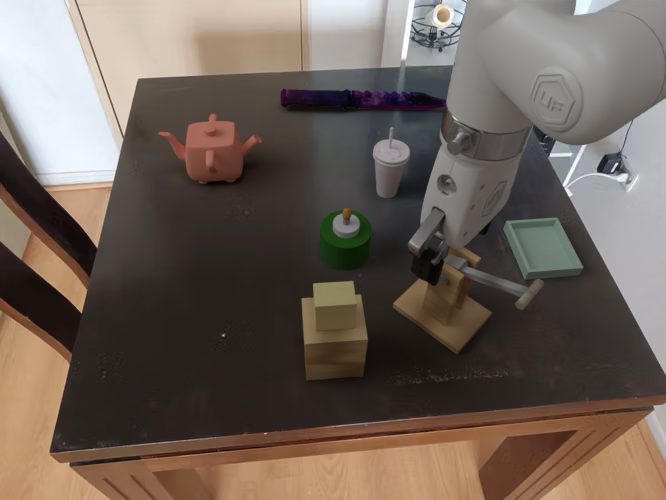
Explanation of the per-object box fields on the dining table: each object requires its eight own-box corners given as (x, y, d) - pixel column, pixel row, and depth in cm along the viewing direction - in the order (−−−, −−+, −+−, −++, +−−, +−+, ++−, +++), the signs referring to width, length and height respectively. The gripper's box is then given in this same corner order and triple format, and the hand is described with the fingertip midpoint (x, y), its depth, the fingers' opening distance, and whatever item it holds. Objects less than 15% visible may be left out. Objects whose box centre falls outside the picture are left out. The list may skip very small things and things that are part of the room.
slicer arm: (544, 291, 68) (544, 276, 67) (524, 315, 66) (523, 300, 64) (457, 261, 77) (455, 248, 75) (436, 281, 74) (434, 268, 73)
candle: (311, 256, 89) (309, 215, 81) (336, 225, 94) (337, 183, 86) (354, 277, 86) (357, 236, 79) (378, 244, 91) (383, 202, 83)
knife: (281, 113, 114) (279, 93, 111) (282, 103, 117) (281, 83, 113) (454, 117, 114) (458, 97, 111) (452, 107, 117) (456, 87, 113)
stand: (357, 333, 80) (361, 294, 72) (363, 376, 75) (367, 339, 68) (303, 337, 79) (301, 298, 72) (306, 380, 75) (304, 344, 67)
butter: (351, 305, 71) (353, 280, 67) (354, 328, 69) (356, 304, 64) (313, 308, 70) (313, 283, 66) (315, 331, 68) (315, 306, 64)
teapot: (228, 139, 108) (221, 96, 101) (267, 168, 103) (262, 125, 95) (168, 172, 102) (156, 129, 94) (206, 205, 96) (195, 161, 89)
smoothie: (387, 174, 102) (394, 113, 92) (411, 193, 99) (421, 131, 89) (362, 189, 100) (367, 127, 89) (385, 208, 97) (393, 147, 86)
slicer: (490, 316, 82) (513, 264, 72) (457, 355, 78) (476, 305, 68) (427, 274, 87) (440, 219, 77) (392, 307, 83) (401, 254, 73)
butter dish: (579, 275, 87) (583, 267, 86) (524, 280, 87) (528, 272, 85) (553, 225, 95) (557, 217, 93) (503, 229, 94) (506, 220, 92)
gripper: (468, 196, 41) (432, 320, 54) (571, 99, 49) (519, 226, 62) (389, 152, 44) (374, 279, 57) (499, 68, 52) (464, 196, 65)
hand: (450, 251), depth 59 cm, fingers open, 9 cm apart
